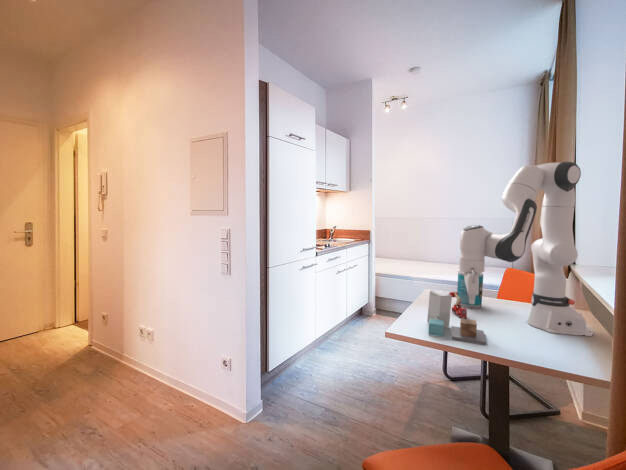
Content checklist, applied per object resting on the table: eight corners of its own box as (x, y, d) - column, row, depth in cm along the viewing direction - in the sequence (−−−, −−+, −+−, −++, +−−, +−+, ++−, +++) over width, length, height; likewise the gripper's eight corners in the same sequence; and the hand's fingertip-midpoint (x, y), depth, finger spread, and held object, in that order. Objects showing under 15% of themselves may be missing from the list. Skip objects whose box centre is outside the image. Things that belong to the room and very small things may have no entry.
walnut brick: (474, 332, 126) (475, 320, 125) (476, 337, 121) (476, 324, 120) (460, 329, 128) (460, 318, 127) (460, 334, 123) (461, 322, 122)
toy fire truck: (460, 318, 144) (461, 298, 143) (448, 309, 158) (449, 291, 157) (467, 319, 144) (468, 299, 143) (454, 309, 158) (455, 291, 157)
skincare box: (426, 322, 140) (428, 290, 138) (438, 320, 141) (439, 289, 140) (438, 329, 132) (440, 295, 130) (450, 327, 133) (452, 294, 132)
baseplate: (482, 333, 127) (483, 330, 127) (486, 345, 116) (486, 342, 116) (451, 328, 132) (451, 325, 132) (451, 339, 121) (451, 336, 121)
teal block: (443, 332, 129) (443, 320, 128) (442, 337, 124) (443, 325, 123) (429, 329, 131) (429, 318, 130) (428, 334, 126) (428, 322, 125)
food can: (452, 301, 171) (454, 269, 169) (473, 301, 171) (475, 270, 170) (463, 308, 159) (465, 274, 157) (486, 308, 159) (488, 274, 158)
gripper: (483, 271, 111) (482, 309, 112) (478, 262, 130) (477, 294, 131) (464, 270, 113) (463, 307, 115) (461, 261, 132) (461, 293, 133)
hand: (470, 300), depth 123 cm, fingers open, 8 cm apart
